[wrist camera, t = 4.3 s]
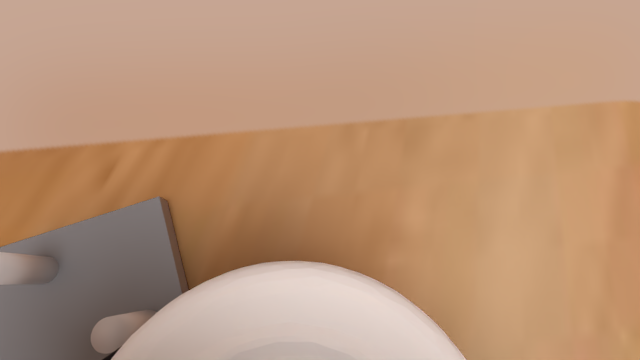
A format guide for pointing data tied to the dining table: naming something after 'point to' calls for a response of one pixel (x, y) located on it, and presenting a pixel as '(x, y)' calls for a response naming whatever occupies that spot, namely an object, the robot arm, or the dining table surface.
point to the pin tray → (88, 284)
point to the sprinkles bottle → (290, 319)
